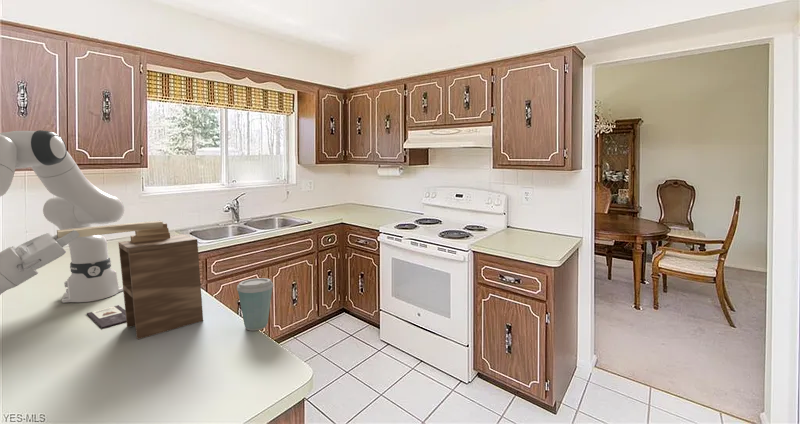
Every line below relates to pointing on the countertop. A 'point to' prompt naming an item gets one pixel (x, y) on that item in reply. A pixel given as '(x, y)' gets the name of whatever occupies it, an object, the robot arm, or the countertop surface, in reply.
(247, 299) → the disposable coffee cup
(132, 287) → the rack
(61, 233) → the birch strip
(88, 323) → the countertop surface
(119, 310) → the chocolate bar
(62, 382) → the countertop surface
